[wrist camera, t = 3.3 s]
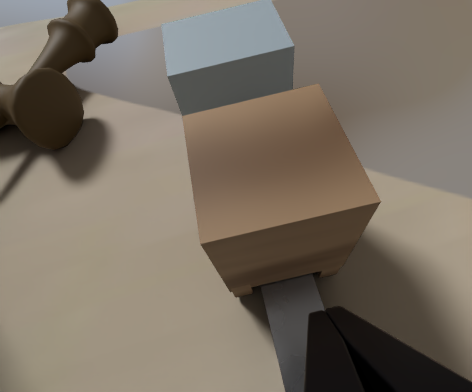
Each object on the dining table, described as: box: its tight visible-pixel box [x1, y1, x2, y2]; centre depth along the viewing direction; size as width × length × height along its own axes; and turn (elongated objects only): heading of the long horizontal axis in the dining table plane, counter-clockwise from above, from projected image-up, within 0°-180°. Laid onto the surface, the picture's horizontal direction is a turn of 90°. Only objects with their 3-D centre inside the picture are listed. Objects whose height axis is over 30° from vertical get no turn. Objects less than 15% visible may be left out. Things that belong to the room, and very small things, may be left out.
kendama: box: [0, 0, 118, 150], centre depth 26 cm, size 6×10×20 cm
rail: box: [260, 273, 325, 392], centre depth 17 cm, size 22×3×2 cm, turn 11°
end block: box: [161, 0, 294, 116], centre depth 22 cm, size 6×8×6 cm
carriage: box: [182, 84, 381, 297], centre depth 15 cm, size 6×6×8 cm
